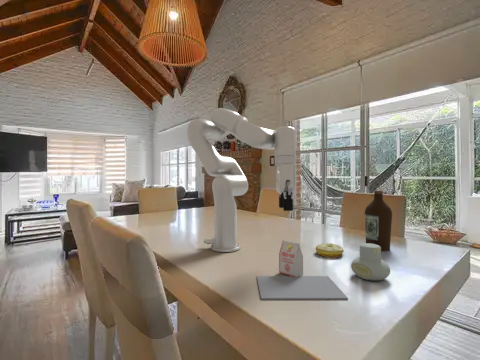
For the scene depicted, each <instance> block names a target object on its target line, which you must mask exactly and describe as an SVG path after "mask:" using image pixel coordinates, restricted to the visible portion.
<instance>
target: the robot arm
mask: <svg viewBox="0 0 480 360" xmlns="http://www.w3.org/2000/svg"><path fill="white" fill-rule="evenodd" d="M186 135H187V139H188V143H189V145H190V146H191V148H192V149H193V151H194V152H195V154H196V156H197V157H198V159H199V161H200V163H201V164H202V166H203V168H204V170H205V171H206V174H207V175H208V176H210V177H215V178H214V179H213V180H212V184H211V188H212V189H211V190H212V195H213V203H214V208H213V209H214V213H213V214H214V220H213V221H214V224H213V225H214V230H213V231H214V233H213V234H214V236H213V237H211V238H204V239H203V244H206V245H210V250H211V251H214V252H218V253H231V252H236V251H239V250H240V249H241V245H240V244H239V243H237V237H238V234H237V233H238V232H237V231H238V230H237V228H238V227H237V226H238V221H237V220H238V219H237V215H238V210H237V208H238V206H237V203H236V199H235V197H238V196H240V197H241V196H243V195H245V194H246V193H248V190H249V182H248V181H249V180H248V179H247V177H246V175H245V174H244V172H243V170H242V169H241V167H240V165H239V164H238V163H237V161H236V160H235V159H234V158H233V157H230V156H228V155H221V154H219V152H218V151H217V150H216V147H215V146H214V144H212V143H211V141H209V140H213V141H217V140H222V139H223V138H225V137H226V136H228V135H232V136H234V137H235V138H236V139H237V140H238V141H240V142H242V143H244V144H246V145H248V146H250V147H253V148H255V149H262V150H268V151H270V150H271V151H273V150H274V167H276V179H275V180H276V184H275V185H276V187H275V188H276V189H275V191H276V192H277V193H278V207H279V208H281V209H282V208H283V209H282V210H283V211H285V212H291V211H293V210H294V197H293V193H294V187H295V185H294V184H295V183H294V182H295V180H294V178H295V177H294V166H295V167H296V166H297V162H296V161H297V155H296V151H297V149H296V147H297V146H296V129H295V128H294V127H292V126H279V127H276V128H275V129H269V128H265V127H260V126H258V125H255V124H253V123H251V122H249V121H248V119H247V118H246V117H245V116H243V115H241V114H239V113H238V112H237V111H234V110H231V109H228V108H224V107H218V108H216V109H214V110H213V111H212V112H211V114H210V120H209V119H205V118H193V119H192V120H191V121H190V122H189V123H188V125H187V129H186Z"/></svg>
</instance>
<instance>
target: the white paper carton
mask: <svg viewBox="0 0 480 360" xmlns="http://www.w3.org/2000/svg"><path fill="white" fill-rule="evenodd" d="M278 273H280V274H283V275H285V276H292V277H299V276H304V256H303V252H302V249H301V245H300V243H299V242H296V241H295V242H293V241H288V240H282V242H281V246H280V250H279V251H278Z"/></svg>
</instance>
